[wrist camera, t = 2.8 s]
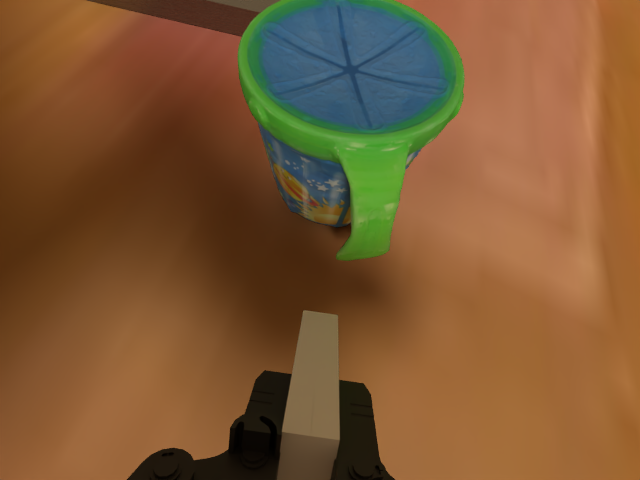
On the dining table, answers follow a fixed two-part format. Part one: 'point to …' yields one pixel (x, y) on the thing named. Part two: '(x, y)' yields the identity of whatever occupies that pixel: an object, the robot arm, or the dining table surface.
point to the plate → (200, 11)
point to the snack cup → (347, 106)
